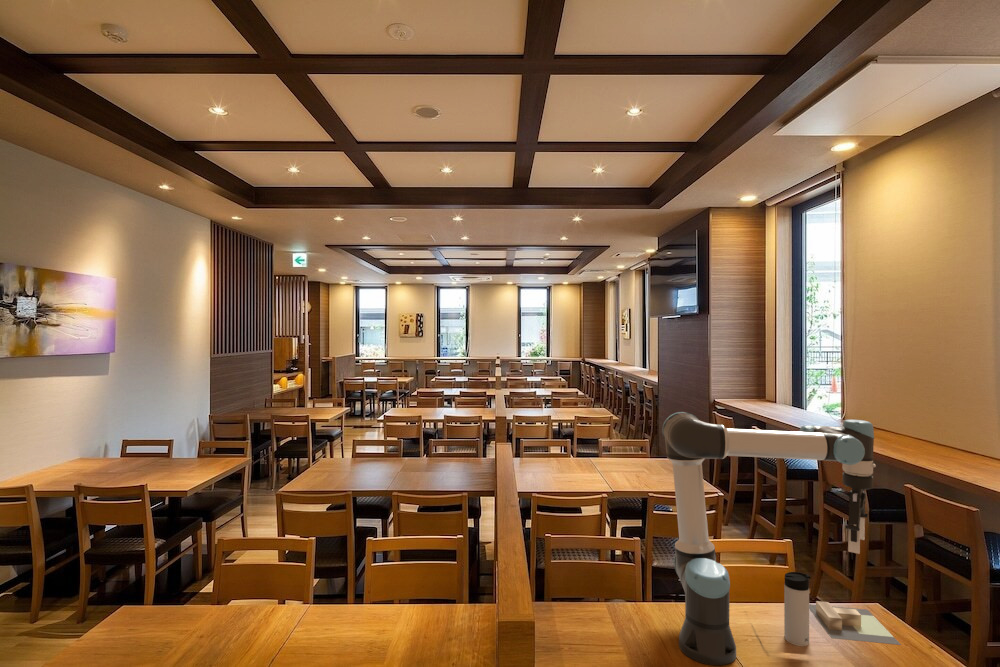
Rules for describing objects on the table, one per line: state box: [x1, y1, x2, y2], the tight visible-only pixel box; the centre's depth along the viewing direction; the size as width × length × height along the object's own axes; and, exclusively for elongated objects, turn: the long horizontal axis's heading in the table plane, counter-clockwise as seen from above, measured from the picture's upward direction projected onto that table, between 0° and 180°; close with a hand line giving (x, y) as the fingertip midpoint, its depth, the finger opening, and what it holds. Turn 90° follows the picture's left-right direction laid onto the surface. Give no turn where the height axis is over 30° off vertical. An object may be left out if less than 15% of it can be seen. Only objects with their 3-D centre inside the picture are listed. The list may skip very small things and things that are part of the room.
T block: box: [815, 600, 861, 630], centre depth 164 cm, size 10×10×4 cm
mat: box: [809, 603, 902, 646], centre depth 164 cm, size 18×20×1 cm
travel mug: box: [783, 571, 811, 647], centre depth 155 cm, size 6×7×20 cm
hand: (856, 545), depth 158 cm, fingers open, 13 cm apart
